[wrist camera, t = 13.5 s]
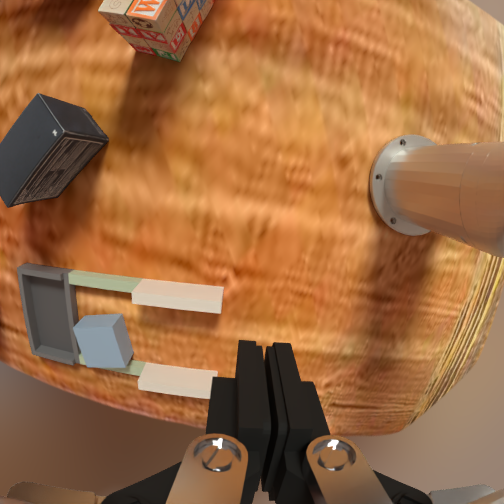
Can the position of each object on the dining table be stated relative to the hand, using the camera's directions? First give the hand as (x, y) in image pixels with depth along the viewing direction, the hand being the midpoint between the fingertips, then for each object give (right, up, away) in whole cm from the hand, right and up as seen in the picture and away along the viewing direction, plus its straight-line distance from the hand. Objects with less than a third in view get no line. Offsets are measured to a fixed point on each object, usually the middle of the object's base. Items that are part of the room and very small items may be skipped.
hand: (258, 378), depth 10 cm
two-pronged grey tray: (-19, -5, +29) cm, 35 cm away
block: (-20, -7, +29) cm, 36 cm away
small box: (-23, +17, +23) cm, 37 cm away
